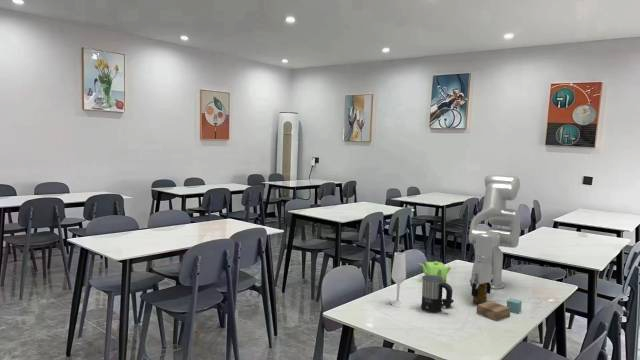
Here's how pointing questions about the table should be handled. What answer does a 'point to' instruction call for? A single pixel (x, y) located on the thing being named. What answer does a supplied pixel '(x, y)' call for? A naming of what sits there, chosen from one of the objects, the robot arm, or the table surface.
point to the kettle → (436, 269)
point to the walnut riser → (493, 310)
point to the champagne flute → (398, 274)
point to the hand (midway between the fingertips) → (480, 294)
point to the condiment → (480, 294)
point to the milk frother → (435, 294)
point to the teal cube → (514, 305)
